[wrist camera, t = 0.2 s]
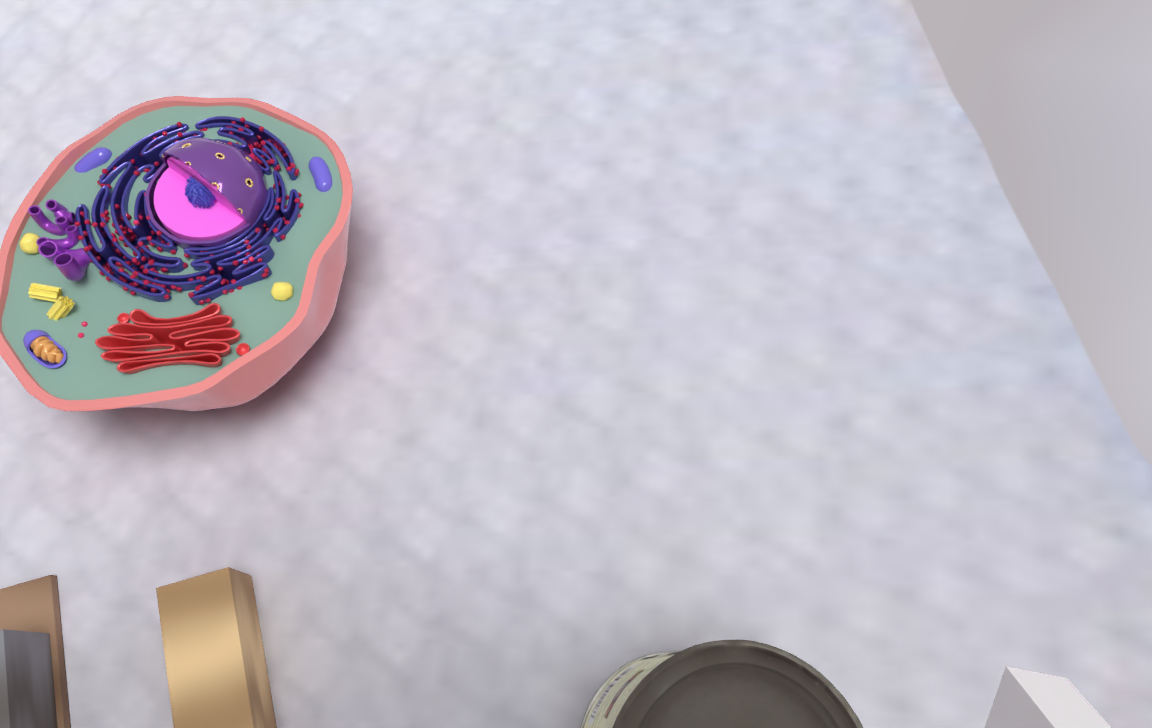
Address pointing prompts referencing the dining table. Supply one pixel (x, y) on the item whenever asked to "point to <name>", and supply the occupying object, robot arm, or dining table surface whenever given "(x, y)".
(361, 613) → the dining table surface
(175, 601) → the brass rectangular bar
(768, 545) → the dining table surface
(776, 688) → the coffee can
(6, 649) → the cap board
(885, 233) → the dining table surface
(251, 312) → the cell model
